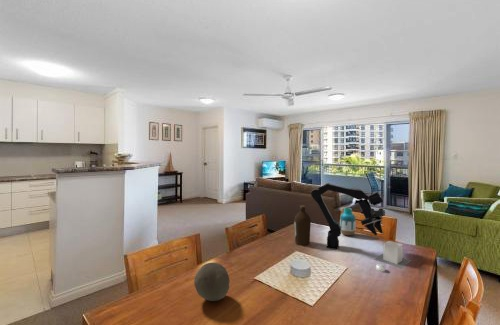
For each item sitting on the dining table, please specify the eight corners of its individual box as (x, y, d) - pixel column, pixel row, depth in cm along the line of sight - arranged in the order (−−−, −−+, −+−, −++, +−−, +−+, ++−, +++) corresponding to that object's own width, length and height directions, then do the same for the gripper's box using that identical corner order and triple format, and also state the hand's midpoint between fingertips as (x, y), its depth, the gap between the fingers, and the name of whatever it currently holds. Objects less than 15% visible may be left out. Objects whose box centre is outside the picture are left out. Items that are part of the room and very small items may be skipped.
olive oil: (311, 241, 168) (311, 204, 166) (309, 247, 158) (309, 208, 156) (295, 239, 171) (295, 203, 170) (292, 244, 161) (293, 206, 160)
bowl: (376, 271, 126) (376, 266, 126) (376, 268, 129) (376, 263, 129) (385, 273, 124) (385, 268, 124) (384, 269, 127) (385, 265, 127)
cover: (383, 259, 138) (383, 243, 138) (388, 255, 143) (388, 240, 143) (397, 264, 133) (397, 247, 132) (402, 260, 137) (402, 244, 137)
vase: (352, 232, 184) (353, 207, 183) (357, 237, 174) (358, 210, 173) (338, 232, 185) (338, 206, 184) (342, 237, 175) (342, 210, 174)
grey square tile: (374, 259, 139) (374, 259, 139) (384, 253, 148) (384, 252, 148) (401, 269, 128) (401, 268, 128) (411, 261, 137) (411, 260, 137)
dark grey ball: (213, 286, 113) (213, 254, 112) (236, 298, 104) (236, 263, 103) (188, 301, 102) (187, 265, 101) (211, 315, 93) (210, 277, 92)
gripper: (373, 204, 138) (387, 231, 132) (384, 202, 151) (397, 227, 145) (355, 211, 145) (368, 238, 139) (367, 209, 158) (379, 233, 152)
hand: (379, 234), depth 143 cm, fingers open, 9 cm apart
